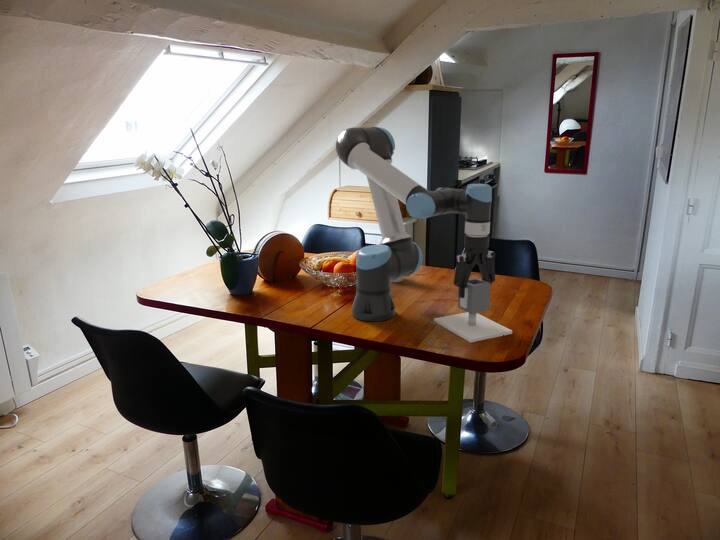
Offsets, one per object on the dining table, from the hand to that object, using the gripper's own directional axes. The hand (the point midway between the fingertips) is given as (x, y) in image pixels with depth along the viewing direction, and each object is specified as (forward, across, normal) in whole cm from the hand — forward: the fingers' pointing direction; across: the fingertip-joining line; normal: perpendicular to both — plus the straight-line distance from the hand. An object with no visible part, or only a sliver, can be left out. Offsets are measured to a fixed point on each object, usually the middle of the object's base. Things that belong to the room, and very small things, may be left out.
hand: (473, 305), depth 175 cm
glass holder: (+8, +4, +62) cm, 63 cm away
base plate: (+8, 0, 0) cm, 8 cm away
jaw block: (+1, 0, 0) cm, 1 cm away
